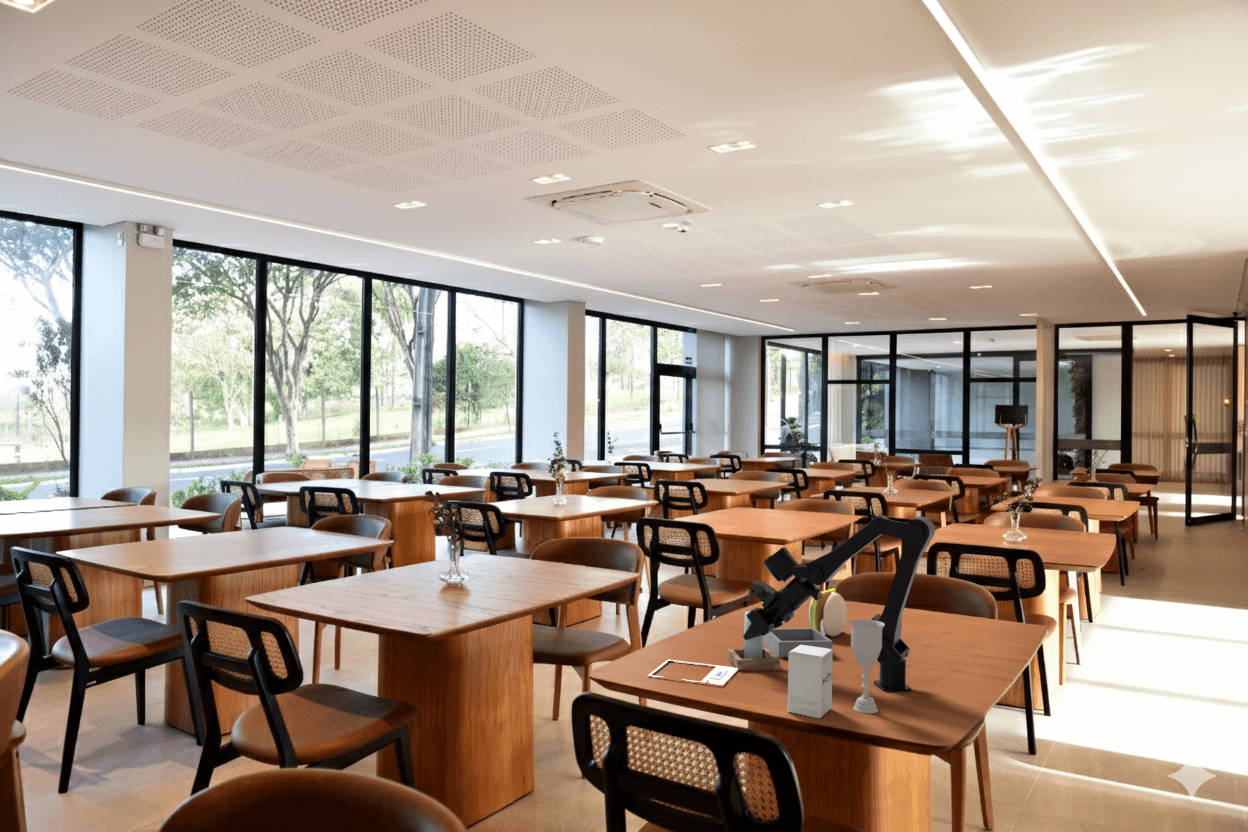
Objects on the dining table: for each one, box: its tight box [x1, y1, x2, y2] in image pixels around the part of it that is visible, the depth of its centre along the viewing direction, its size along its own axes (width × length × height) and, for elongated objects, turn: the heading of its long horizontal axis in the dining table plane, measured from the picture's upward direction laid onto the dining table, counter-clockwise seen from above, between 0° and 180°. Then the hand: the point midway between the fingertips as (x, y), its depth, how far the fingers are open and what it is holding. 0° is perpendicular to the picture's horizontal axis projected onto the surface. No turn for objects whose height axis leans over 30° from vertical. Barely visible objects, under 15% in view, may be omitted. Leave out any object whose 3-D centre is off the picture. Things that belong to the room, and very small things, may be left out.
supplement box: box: [786, 645, 833, 719], centre depth 179 cm, size 7×7×13 cm
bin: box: [763, 627, 833, 659], centre depth 226 cm, size 14×14×4 cm
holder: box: [726, 647, 781, 671], centre depth 213 cm, size 10×10×2 cm
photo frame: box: [647, 659, 739, 685], centre depth 204 cm, size 15×1×18 cm
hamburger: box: [808, 588, 848, 638], centre depth 243 cm, size 12×8×12 cm
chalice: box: [848, 618, 885, 714], centre depth 181 cm, size 7×7×18 cm
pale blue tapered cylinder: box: [743, 610, 763, 659], centre depth 213 cm, size 4×4×12 cm
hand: (748, 636), depth 214 cm, fingers closed on pale blue tapered cylinder, 4 cm apart
